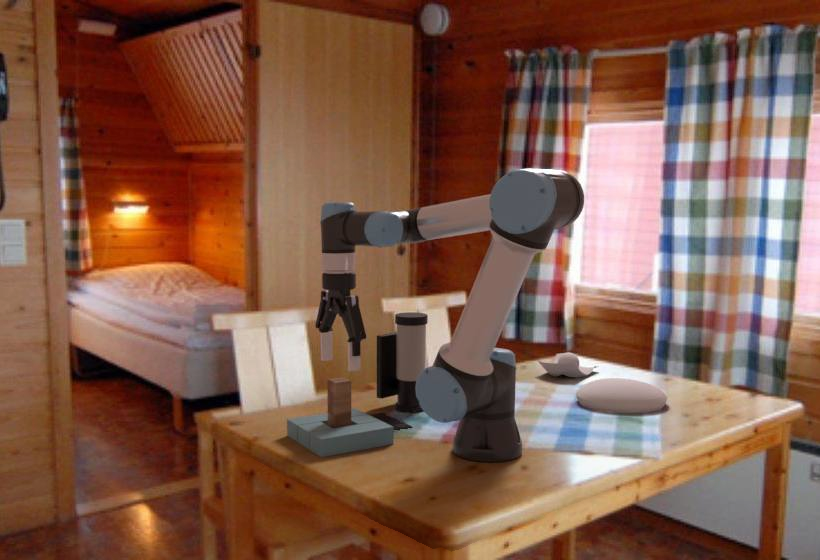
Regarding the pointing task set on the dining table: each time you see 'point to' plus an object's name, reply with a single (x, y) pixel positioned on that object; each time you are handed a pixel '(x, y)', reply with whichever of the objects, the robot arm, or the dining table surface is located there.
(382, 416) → the smartphone
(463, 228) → the robot arm
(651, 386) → the decorative item
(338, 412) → the walnut peg
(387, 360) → the light fixture
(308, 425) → the socket block
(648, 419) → the dining table surface
